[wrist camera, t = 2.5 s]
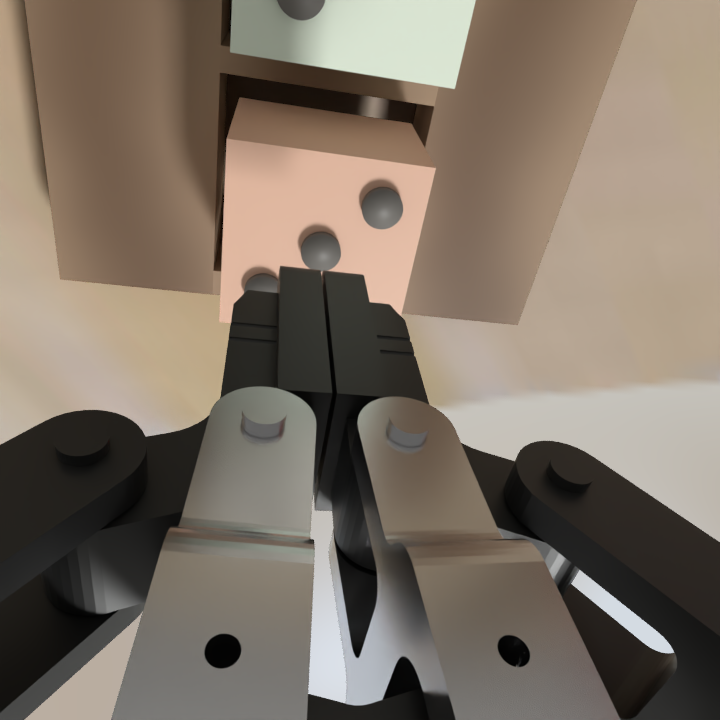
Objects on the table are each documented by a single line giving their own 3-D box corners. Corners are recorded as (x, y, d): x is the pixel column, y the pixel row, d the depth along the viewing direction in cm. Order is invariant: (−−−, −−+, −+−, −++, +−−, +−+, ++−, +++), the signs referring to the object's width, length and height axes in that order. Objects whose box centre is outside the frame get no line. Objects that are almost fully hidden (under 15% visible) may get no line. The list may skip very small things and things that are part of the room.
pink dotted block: (411, 123, 16) (438, 171, 13) (380, 273, 18) (396, 342, 15) (239, 97, 15) (225, 141, 12) (231, 257, 18) (218, 326, 15)
